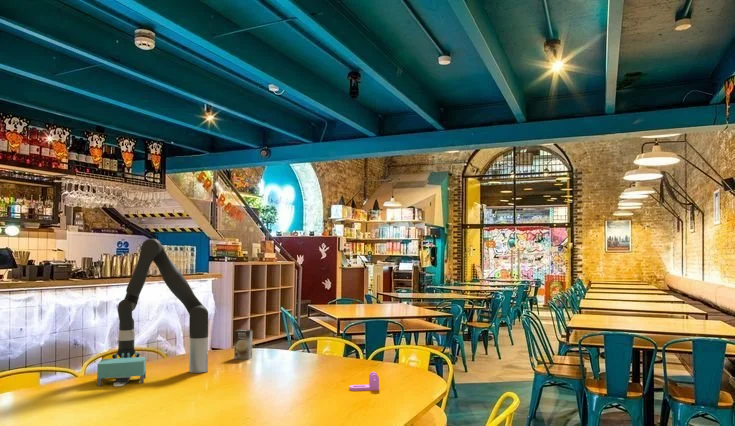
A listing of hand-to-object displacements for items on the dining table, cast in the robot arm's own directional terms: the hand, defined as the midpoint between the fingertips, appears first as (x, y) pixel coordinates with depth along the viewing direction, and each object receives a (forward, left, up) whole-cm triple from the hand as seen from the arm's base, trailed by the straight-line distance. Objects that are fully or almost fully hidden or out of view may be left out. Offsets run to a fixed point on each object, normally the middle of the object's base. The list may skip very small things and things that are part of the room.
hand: (125, 373), depth 297 cm
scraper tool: (0, +8, -1) cm, 8 cm away
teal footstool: (0, +16, -1) cm, 16 cm away
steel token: (0, +25, -1) cm, 25 cm away
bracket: (-105, +66, -1) cm, 124 cm away
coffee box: (-60, -27, -1) cm, 66 cm away
